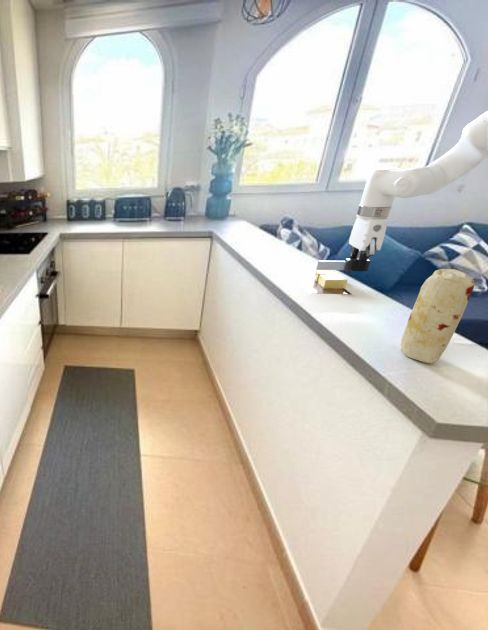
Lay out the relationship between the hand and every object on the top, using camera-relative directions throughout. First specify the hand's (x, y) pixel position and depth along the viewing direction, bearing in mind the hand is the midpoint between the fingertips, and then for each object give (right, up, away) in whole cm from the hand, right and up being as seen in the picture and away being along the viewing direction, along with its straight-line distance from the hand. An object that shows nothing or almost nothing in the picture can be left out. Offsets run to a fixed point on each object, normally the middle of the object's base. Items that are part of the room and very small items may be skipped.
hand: (355, 269), depth 112 cm
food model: (-14, -24, -34) cm, 44 cm away
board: (-9, -6, +3) cm, 11 cm away
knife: (-3, 0, +1) cm, 3 cm away
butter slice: (-6, -3, +5) cm, 9 cm away
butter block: (-7, -5, +1) cm, 9 cm away
